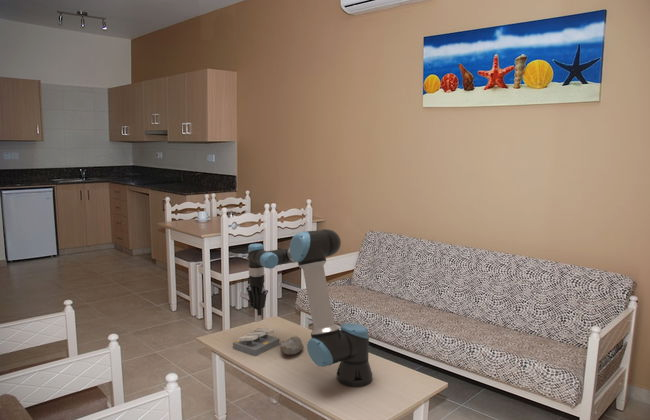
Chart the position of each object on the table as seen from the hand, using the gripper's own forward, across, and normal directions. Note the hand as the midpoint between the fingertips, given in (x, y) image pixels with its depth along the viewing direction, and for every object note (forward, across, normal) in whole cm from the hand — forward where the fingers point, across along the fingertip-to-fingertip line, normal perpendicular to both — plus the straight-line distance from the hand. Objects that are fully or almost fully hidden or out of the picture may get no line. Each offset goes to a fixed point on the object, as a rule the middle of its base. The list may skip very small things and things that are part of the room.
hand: (257, 320), depth 247 cm
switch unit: (+11, -4, +5) cm, 12 cm away
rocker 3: (+5, -4, 0) cm, 6 cm away
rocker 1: (+5, -4, +11) cm, 13 cm away
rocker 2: (+5, -4, +5) cm, 8 cm away
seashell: (+11, -22, 0) cm, 24 cm away
